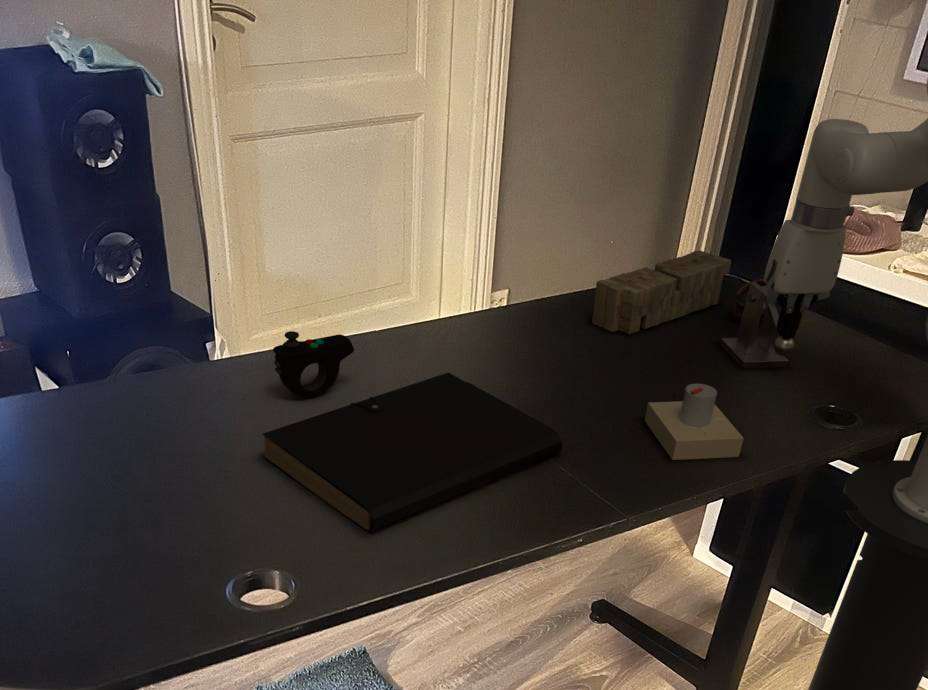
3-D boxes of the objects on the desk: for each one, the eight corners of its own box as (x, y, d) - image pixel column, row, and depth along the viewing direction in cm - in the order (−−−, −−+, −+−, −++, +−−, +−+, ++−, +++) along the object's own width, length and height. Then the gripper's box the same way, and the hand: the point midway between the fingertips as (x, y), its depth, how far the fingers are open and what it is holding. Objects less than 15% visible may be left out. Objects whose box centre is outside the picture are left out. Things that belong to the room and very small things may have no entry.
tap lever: (791, 359, 157) (800, 346, 154) (773, 360, 156) (781, 346, 153) (770, 297, 162) (778, 283, 159) (752, 298, 161) (760, 284, 158)
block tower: (622, 342, 170) (724, 302, 185) (629, 294, 165) (733, 257, 179) (589, 327, 175) (691, 290, 189) (595, 280, 169) (699, 245, 184)
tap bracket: (786, 367, 163) (806, 297, 155) (742, 368, 161) (760, 298, 154) (762, 343, 170) (779, 275, 163) (719, 344, 169) (735, 276, 162)
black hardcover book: (447, 369, 146) (564, 432, 133) (446, 394, 149) (560, 459, 135) (261, 430, 128) (373, 510, 115) (263, 457, 131) (373, 539, 118)
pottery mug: (794, 334, 176) (786, 297, 170) (741, 351, 179) (732, 316, 173) (783, 294, 183) (775, 257, 177) (732, 311, 186) (723, 276, 180)
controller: (272, 396, 146) (267, 331, 139) (344, 380, 151) (342, 317, 145) (285, 408, 143) (281, 342, 136) (358, 390, 148) (357, 326, 142)
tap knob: (691, 409, 142) (698, 378, 139) (716, 420, 139) (724, 389, 136) (673, 417, 139) (679, 386, 136) (697, 429, 137) (704, 397, 134)
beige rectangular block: (739, 457, 137) (744, 437, 135) (672, 460, 136) (676, 440, 134) (707, 418, 147) (711, 399, 145) (644, 420, 145) (648, 401, 143)
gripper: (852, 207, 147) (817, 324, 159) (761, 207, 145) (732, 326, 157) (877, 222, 142) (839, 343, 153) (782, 222, 139) (751, 345, 151)
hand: (785, 334), depth 155 cm, fingers closed
